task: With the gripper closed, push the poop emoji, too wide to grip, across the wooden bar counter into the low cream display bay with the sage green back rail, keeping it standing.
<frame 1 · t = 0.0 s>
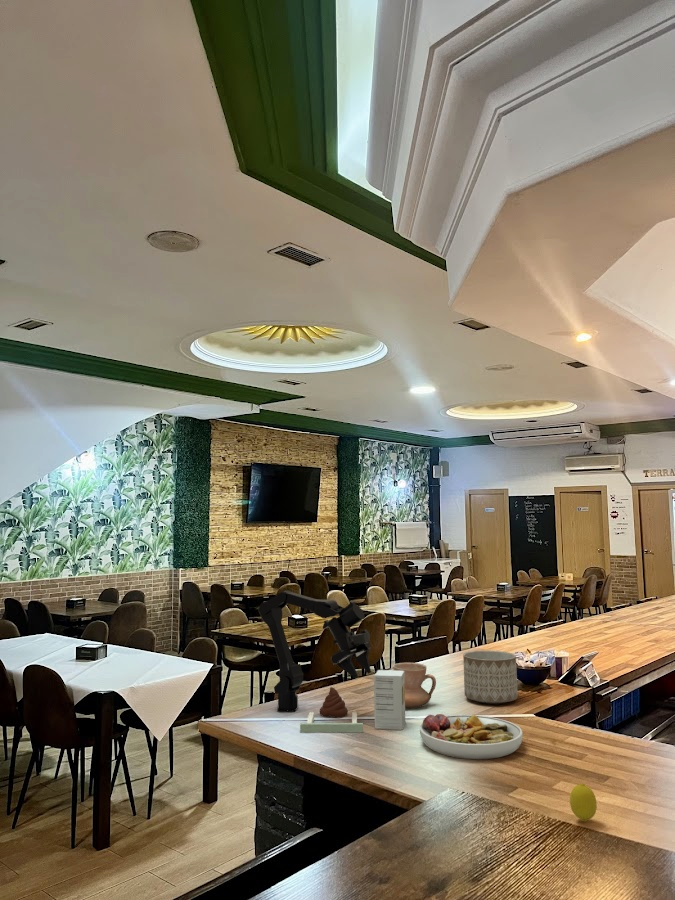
hand: (363, 675, 229), 15 cm above the bar counter, tool tilted 35°, fingers open, 9 cm apart
display bay: (332, 725, 223), on the bar counter
bowl: (470, 746, 202), on the bar counter
supplement box: (390, 726, 222), on the bar counter
lemon: (584, 822, 148), on the bar counter
ceramic jug: (411, 706, 247), on the bar counter
planter: (491, 700, 253), on the bar counter
poop emoji: (333, 715, 236), on the bar counter
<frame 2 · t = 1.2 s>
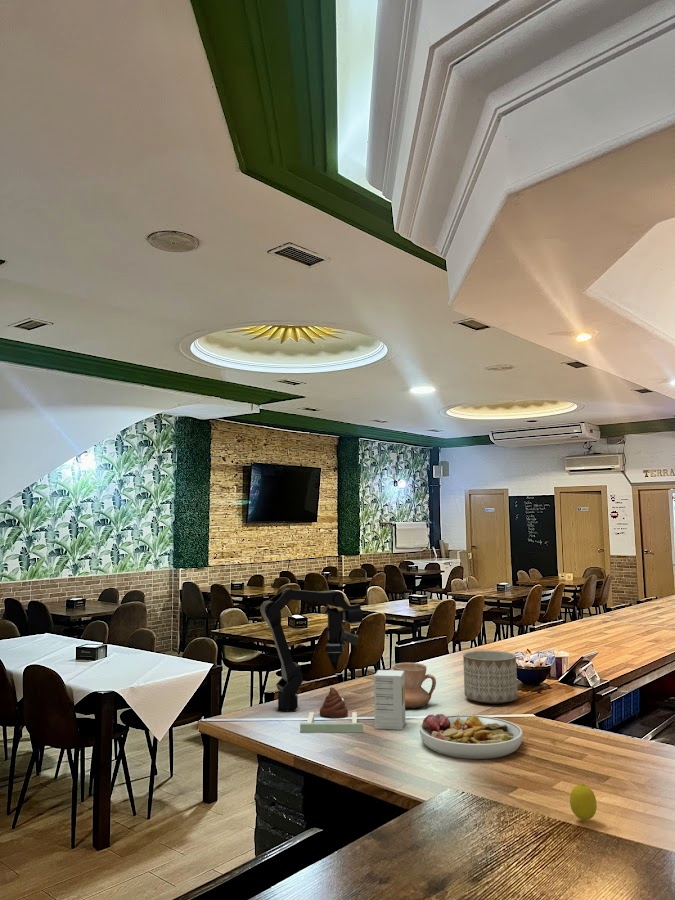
hand: (336, 667, 251), 13 cm above the bar counter, tool pointing down, fingers open, 9 cm apart
nothing on the bar counter moved.
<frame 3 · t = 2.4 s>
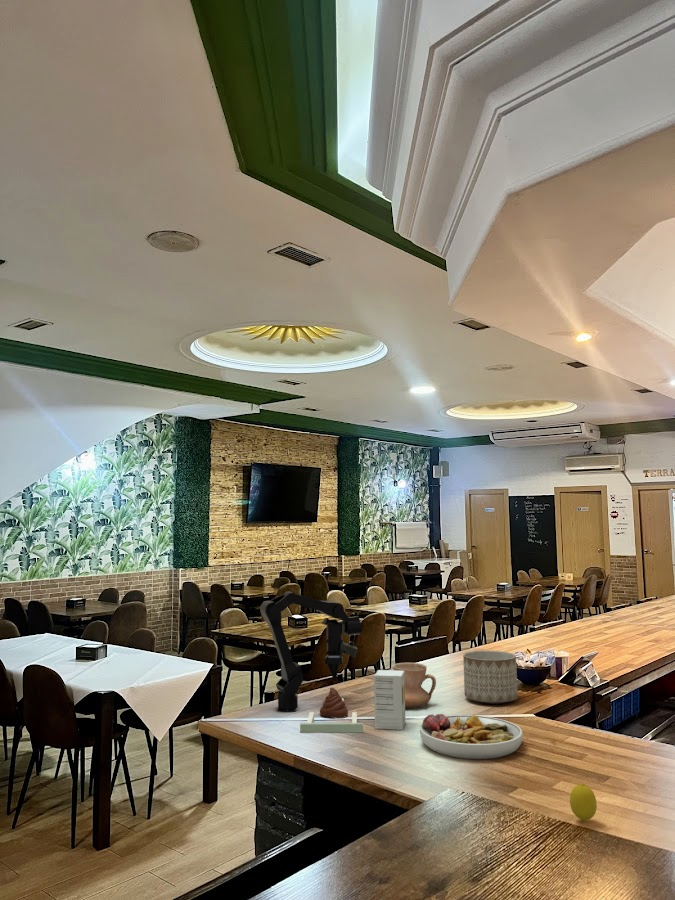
hand: (334, 679, 251), 9 cm above the bar counter, tool pointing down, fingers closed
nothing on the bar counter moved.
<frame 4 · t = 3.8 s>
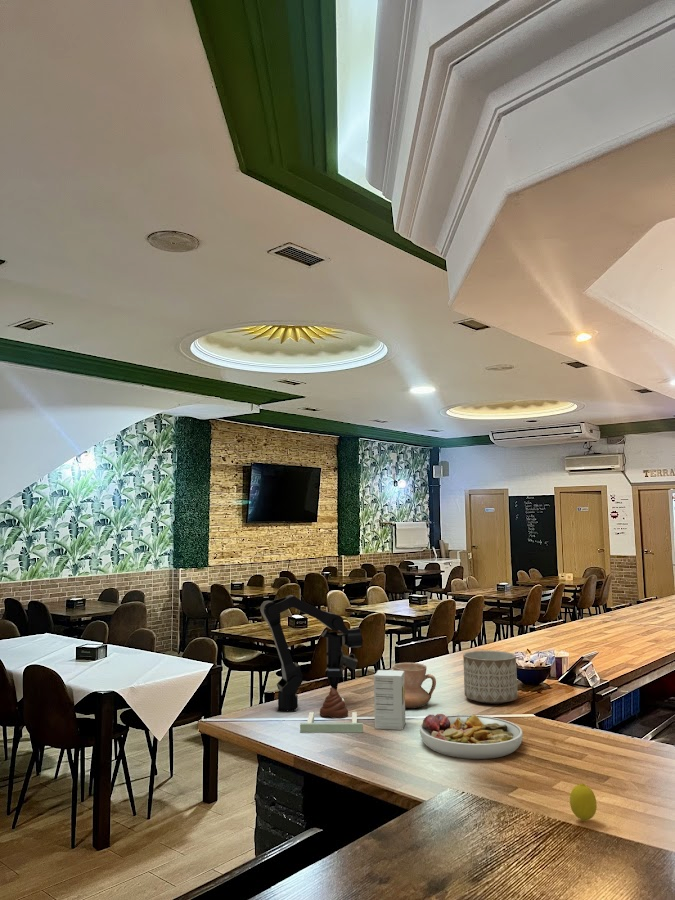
hand: (335, 692, 249), 4 cm above the bar counter, tool pointing down, fingers closed
nothing on the bar counter moved.
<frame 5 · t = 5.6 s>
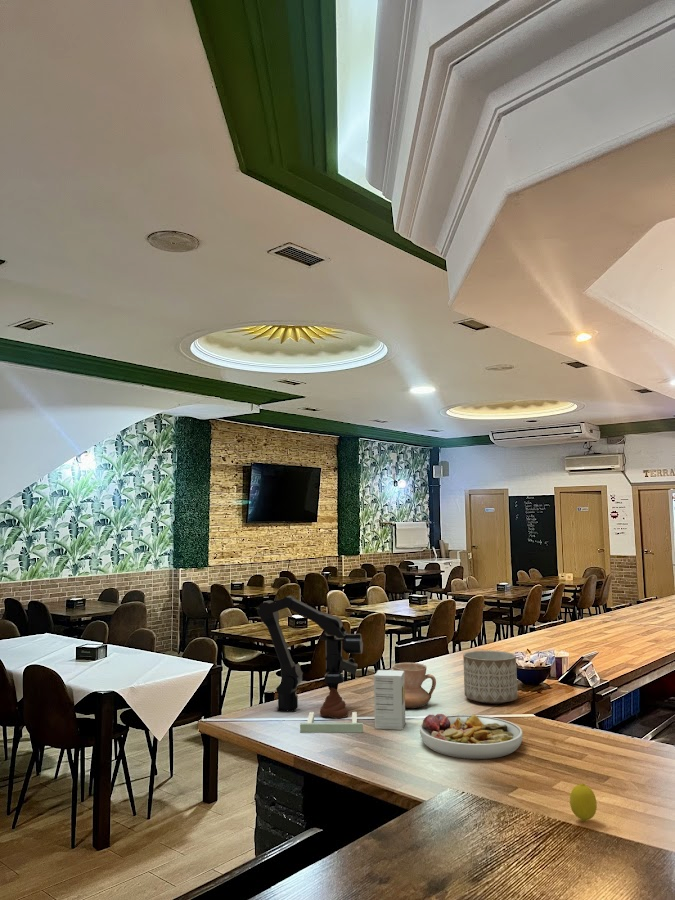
hand: (334, 698, 240), 5 cm above the bar counter, tool pointing down, fingers closed
poop emoji: (334, 716, 235), on the bar counter, touching gripper
everything else where it was.
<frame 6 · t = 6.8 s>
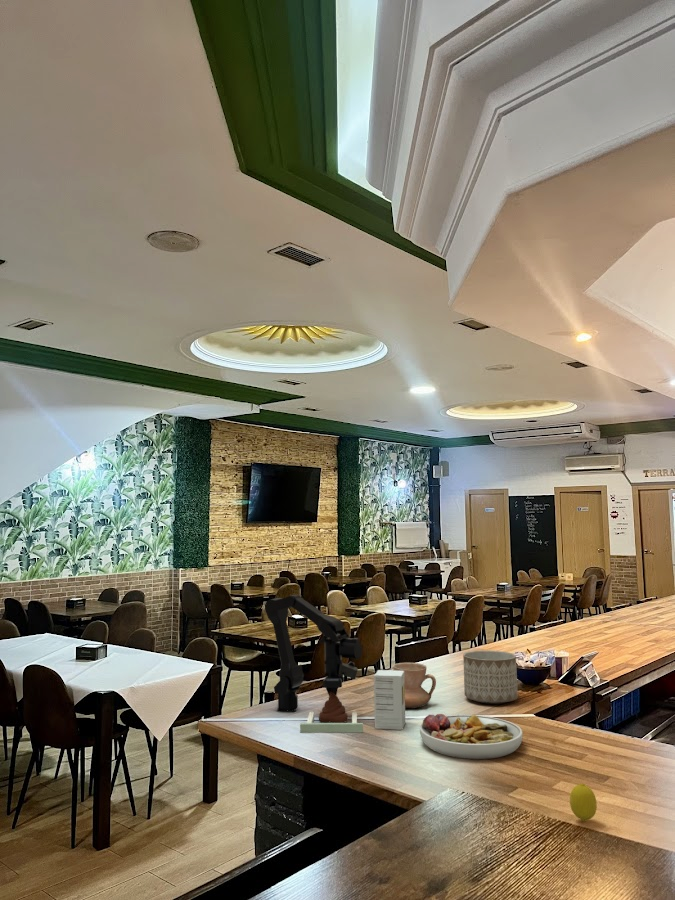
hand: (333, 703, 234), 5 cm above the bar counter, tool pointing down, fingers closed
poop emoji: (333, 721, 228), on the bar counter, touching gripper
everything else where it was.
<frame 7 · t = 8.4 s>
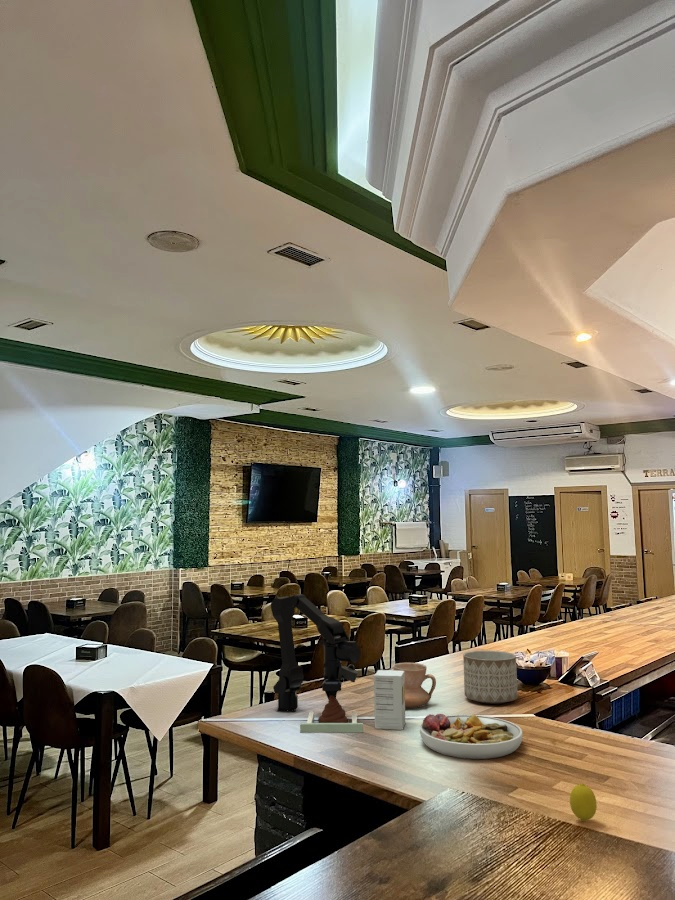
hand: (332, 706, 229), 4 cm above the bar counter, tool pointing down, fingers closed
poop emoji: (333, 725, 224), on the bar counter, touching gripper
everything else where it was.
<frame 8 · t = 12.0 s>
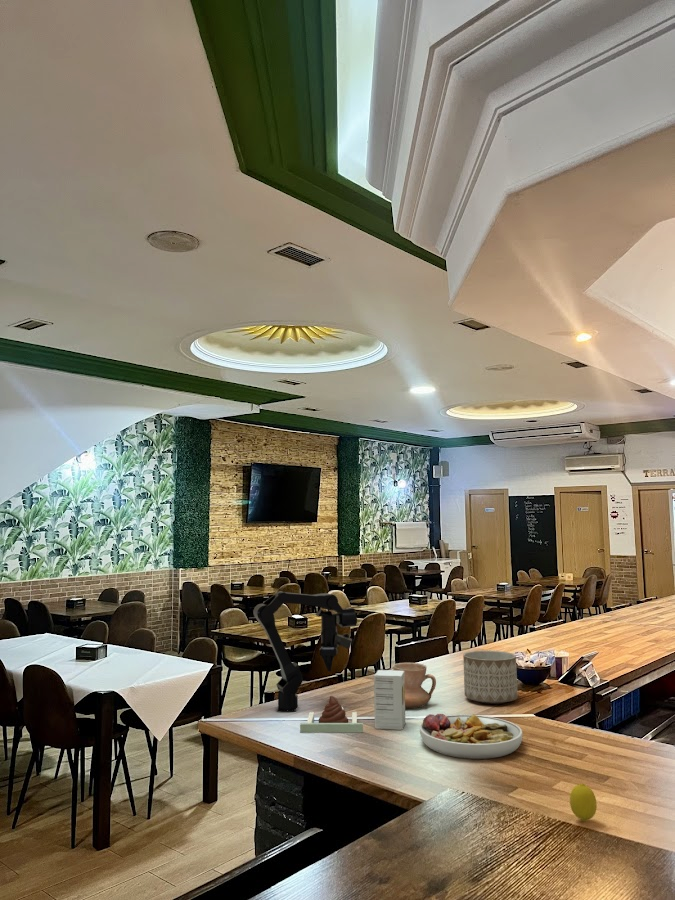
hand: (329, 671, 250), 12 cm above the bar counter, tool pointing down, fingers closed
poop emoji: (333, 725, 223), on the bar counter
everything else where it was.
at the end: poop emoji inside the target area on the display bay (0.5 cm from its centre), point 0.0 cm above the display bay's base; poop emoji tilted 0°; supplement box moved 0.2 cm from its start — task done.
